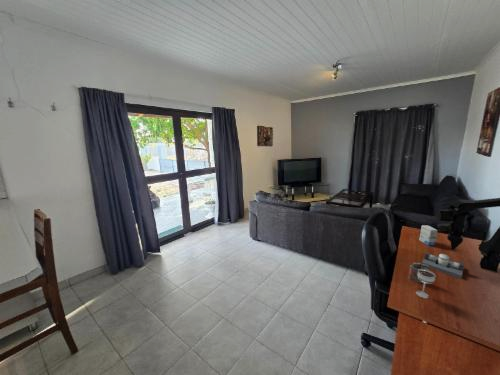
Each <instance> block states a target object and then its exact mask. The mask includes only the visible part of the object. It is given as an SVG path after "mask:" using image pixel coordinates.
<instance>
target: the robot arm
mask: <svg viewBox="0 0 500 375" xmlns="http://www.w3.org/2000/svg"><path fill="white" fill-rule="evenodd" d="M498 207H500V197H497V198H487V199H486V198H485V199H478V200H477V199H476V200H470V199H457V200H454V202H453V203H451V205H449V206H447V208H446V209H440V208H439V209H438V210H437V211H436V213H435V214H434V217H435V221H438V222H448V223H438V224H437V231H438V232H449V233H448V234H447V238H446V239H447V240H448V241H449V242H450V246H451V247H450V248H451V250H452V251H454V250H456V249H457V248H458V247H459V246H460V245H461V244H462V243H463V242H464V236H463V235H464V232H465V228H466V221H467V218H468V217H473V214H472V213H470V212H474V211H475V210H478V209H485V208H486V209H487V208H498ZM478 251H479V253H480V255H482V257H480V261H479V267H480V268H481V269H483V270H487V271H489V272H490V271H491V272H493V273H498V269H499V265H500V226H499V227H498V228H497V229H496V231H495V232H494V234H493V235H492V236H491V238H490V239H488V240H482V241H481V242H480V244H478Z"/></svg>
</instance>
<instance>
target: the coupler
mask: <svg viewBox="0 0 500 375" xmlns="http://www.w3.org/2000/svg"><path fill="white" fill-rule="evenodd" d="M438 257H439V259H438V263H437V262H436V264H438V265H441V266H444V267H447V268H448V267H449V266H448V262H449V260H450V256H449V255H447V254H445V253H440V254H439V255H438Z"/></svg>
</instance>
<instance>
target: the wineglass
mask: <svg viewBox="0 0 500 375" xmlns="http://www.w3.org/2000/svg"><path fill="white" fill-rule="evenodd" d="M436 276H437V275H436V274H435V273H434V272H433V271H431V270H430V269H429V270H426V269H418V273H417V277H418V279H419V280H420V281H421V282H423V283H422V290H416V291H415V294H416V295H417V296H419V297H420V298H423V299H428V298H430V296H429V294H428V293H426V292H425V287H426V285H431V284H434V283H435V281H436Z"/></svg>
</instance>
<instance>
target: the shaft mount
mask: <svg viewBox="0 0 500 375" xmlns="http://www.w3.org/2000/svg"><path fill="white" fill-rule="evenodd" d="M438 259H439V256H436V255H433V254H431V253H430V252H428V251H426V252H425V254H424V257H423V260H422V263H421V264H425V265H428V268H427V269H432V270H434V271H438V272H439V273H440V272H441V273H443V274H445V275H449V276H452V277H454V278H458V279H460V280H461V279H462V277H463V272H464V267H465V263H464V262H462V261H460V262H456V261H452V260H450V259H449V262H448V266H447V267H444V266H441V265H438V264H437V263H438Z"/></svg>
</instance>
